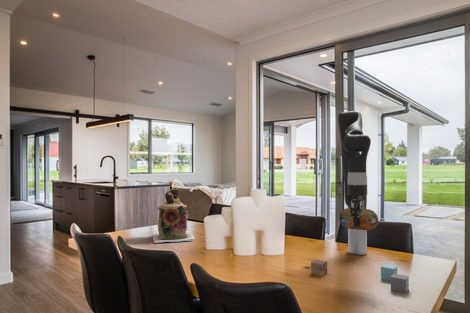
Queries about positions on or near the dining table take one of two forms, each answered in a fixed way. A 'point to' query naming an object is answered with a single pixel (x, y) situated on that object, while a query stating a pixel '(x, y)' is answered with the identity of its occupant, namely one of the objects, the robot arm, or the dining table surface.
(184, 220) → the cookie jar
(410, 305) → the dining table surface
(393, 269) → the slate-teal cube
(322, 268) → the brownish grey cube
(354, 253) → the robot arm
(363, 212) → the tin
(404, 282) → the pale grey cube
